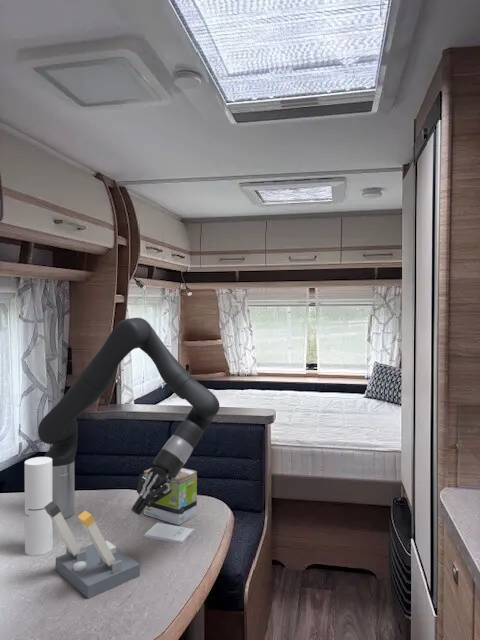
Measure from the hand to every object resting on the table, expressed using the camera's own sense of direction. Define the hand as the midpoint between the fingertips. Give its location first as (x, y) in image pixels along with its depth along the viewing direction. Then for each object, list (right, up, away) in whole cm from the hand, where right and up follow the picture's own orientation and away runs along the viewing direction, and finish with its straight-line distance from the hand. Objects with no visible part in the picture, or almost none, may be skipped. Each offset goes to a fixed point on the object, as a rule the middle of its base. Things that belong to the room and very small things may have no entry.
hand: (135, 512), depth 126 cm
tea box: (+4, -14, +33) cm, 36 cm away
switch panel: (-9, -15, -1) cm, 18 cm away
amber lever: (-5, -11, -4) cm, 13 cm away
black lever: (-15, -11, 0) cm, 19 cm away
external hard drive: (+6, -15, +20) cm, 25 cm away
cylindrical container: (-29, -14, +10) cm, 34 cm away
